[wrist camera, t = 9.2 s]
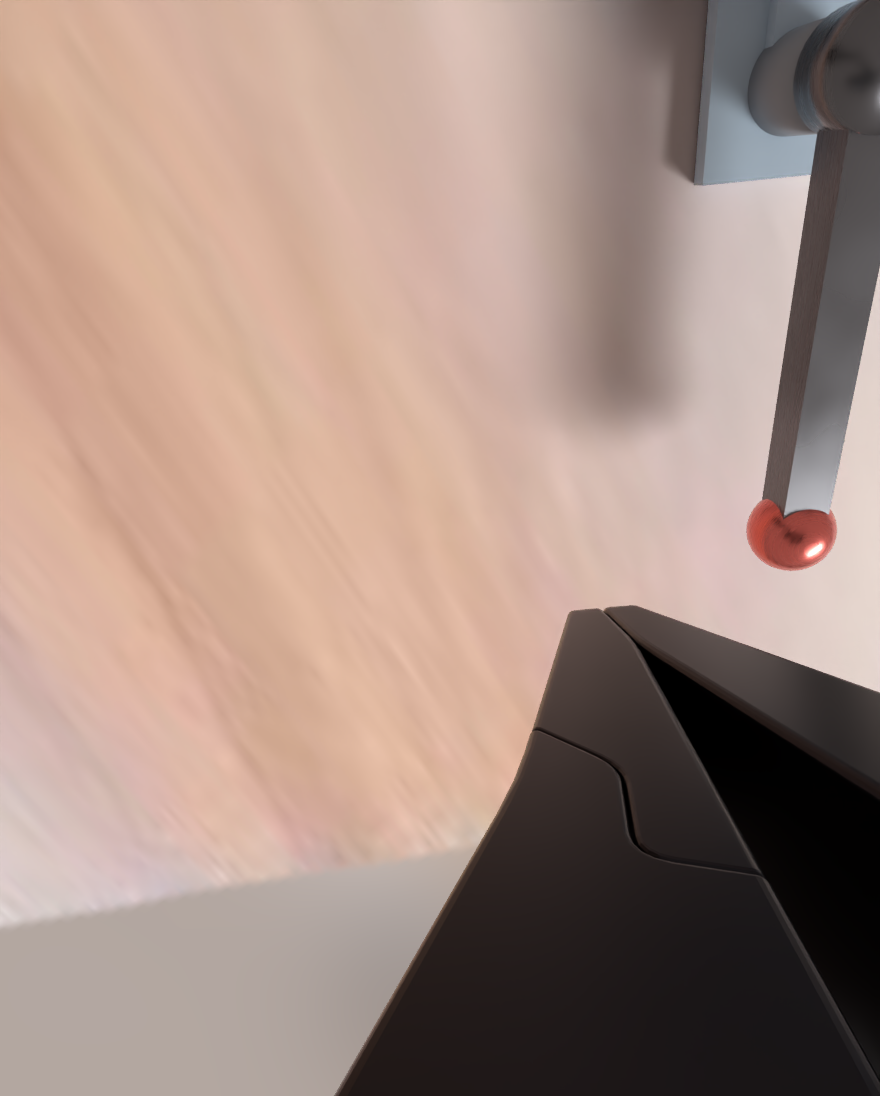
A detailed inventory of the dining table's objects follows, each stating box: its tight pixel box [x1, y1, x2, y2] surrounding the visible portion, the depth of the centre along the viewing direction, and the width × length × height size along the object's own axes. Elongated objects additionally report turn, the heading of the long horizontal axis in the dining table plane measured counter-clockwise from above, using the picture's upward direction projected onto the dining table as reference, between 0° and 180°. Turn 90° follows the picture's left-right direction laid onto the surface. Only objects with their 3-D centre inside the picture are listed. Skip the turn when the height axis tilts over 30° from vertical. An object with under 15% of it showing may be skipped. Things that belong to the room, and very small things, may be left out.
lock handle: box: [747, 0, 880, 571], centre depth 16 cm, size 13×2×2 cm, turn 4°
